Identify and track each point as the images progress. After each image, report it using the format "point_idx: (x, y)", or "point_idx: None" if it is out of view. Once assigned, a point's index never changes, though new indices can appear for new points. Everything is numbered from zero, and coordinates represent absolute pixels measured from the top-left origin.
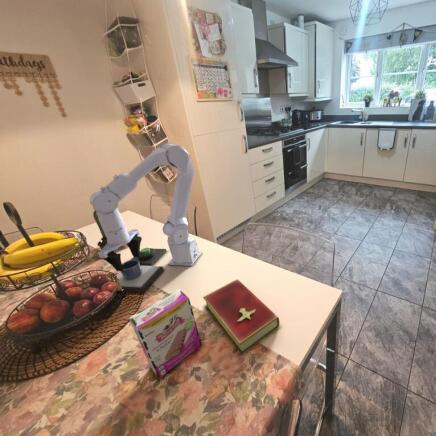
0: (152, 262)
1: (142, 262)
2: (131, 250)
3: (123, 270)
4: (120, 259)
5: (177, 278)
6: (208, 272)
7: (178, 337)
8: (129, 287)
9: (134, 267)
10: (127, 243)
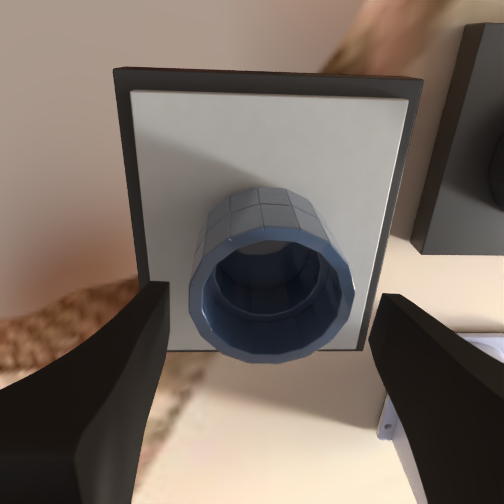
0: (434, 253)
1: (449, 181)
2: (423, 347)
3: (189, 299)
4: (133, 472)
5: (278, 415)
6: (316, 496)
7: None
8: (148, 280)
9: (238, 355)
10: (497, 423)
